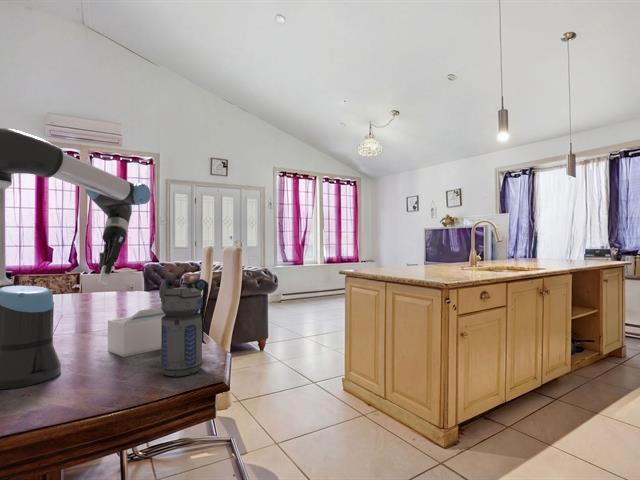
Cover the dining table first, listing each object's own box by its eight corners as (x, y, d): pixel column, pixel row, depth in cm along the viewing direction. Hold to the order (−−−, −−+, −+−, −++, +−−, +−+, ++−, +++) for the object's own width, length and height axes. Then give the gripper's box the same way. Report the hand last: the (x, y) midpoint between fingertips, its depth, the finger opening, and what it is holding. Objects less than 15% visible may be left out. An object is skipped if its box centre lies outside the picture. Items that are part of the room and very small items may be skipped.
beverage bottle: (217, 368, 98) (216, 277, 98) (168, 382, 88) (168, 280, 89) (199, 361, 105) (198, 275, 106) (152, 372, 95) (152, 278, 96)
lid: (140, 310, 102) (140, 312, 102) (192, 303, 115) (193, 305, 115) (124, 322, 109) (124, 324, 108) (175, 314, 122) (176, 316, 121)
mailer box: (107, 350, 117) (107, 320, 117) (155, 340, 129) (155, 312, 130) (123, 357, 109) (123, 324, 110) (173, 346, 122) (173, 316, 122)
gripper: (135, 226, 134) (125, 276, 119) (116, 245, 139) (104, 295, 124) (115, 217, 130) (102, 268, 114) (96, 237, 134) (81, 288, 119)
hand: (103, 282), depth 119 cm, fingers closed
